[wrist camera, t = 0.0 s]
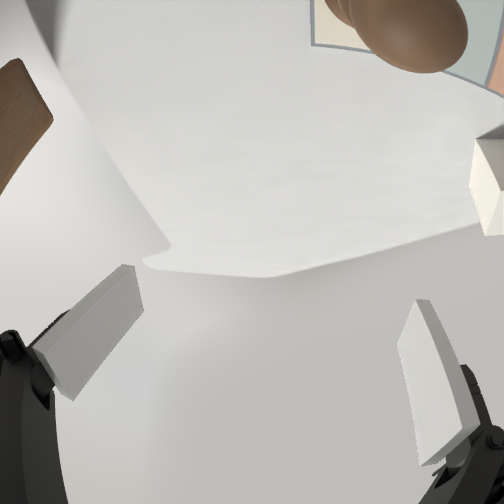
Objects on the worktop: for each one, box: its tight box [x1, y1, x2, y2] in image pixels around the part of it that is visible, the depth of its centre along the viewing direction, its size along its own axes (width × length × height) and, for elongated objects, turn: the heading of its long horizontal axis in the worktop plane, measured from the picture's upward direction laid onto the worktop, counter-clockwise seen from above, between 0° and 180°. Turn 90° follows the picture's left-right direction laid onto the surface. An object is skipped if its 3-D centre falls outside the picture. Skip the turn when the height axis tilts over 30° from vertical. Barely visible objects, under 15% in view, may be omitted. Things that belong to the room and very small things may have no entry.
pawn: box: [325, 0, 468, 73], centre depth 6 cm, size 5×5×10 cm
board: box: [310, 0, 504, 98], centre depth 8 cm, size 9×20×1 cm, turn 96°
